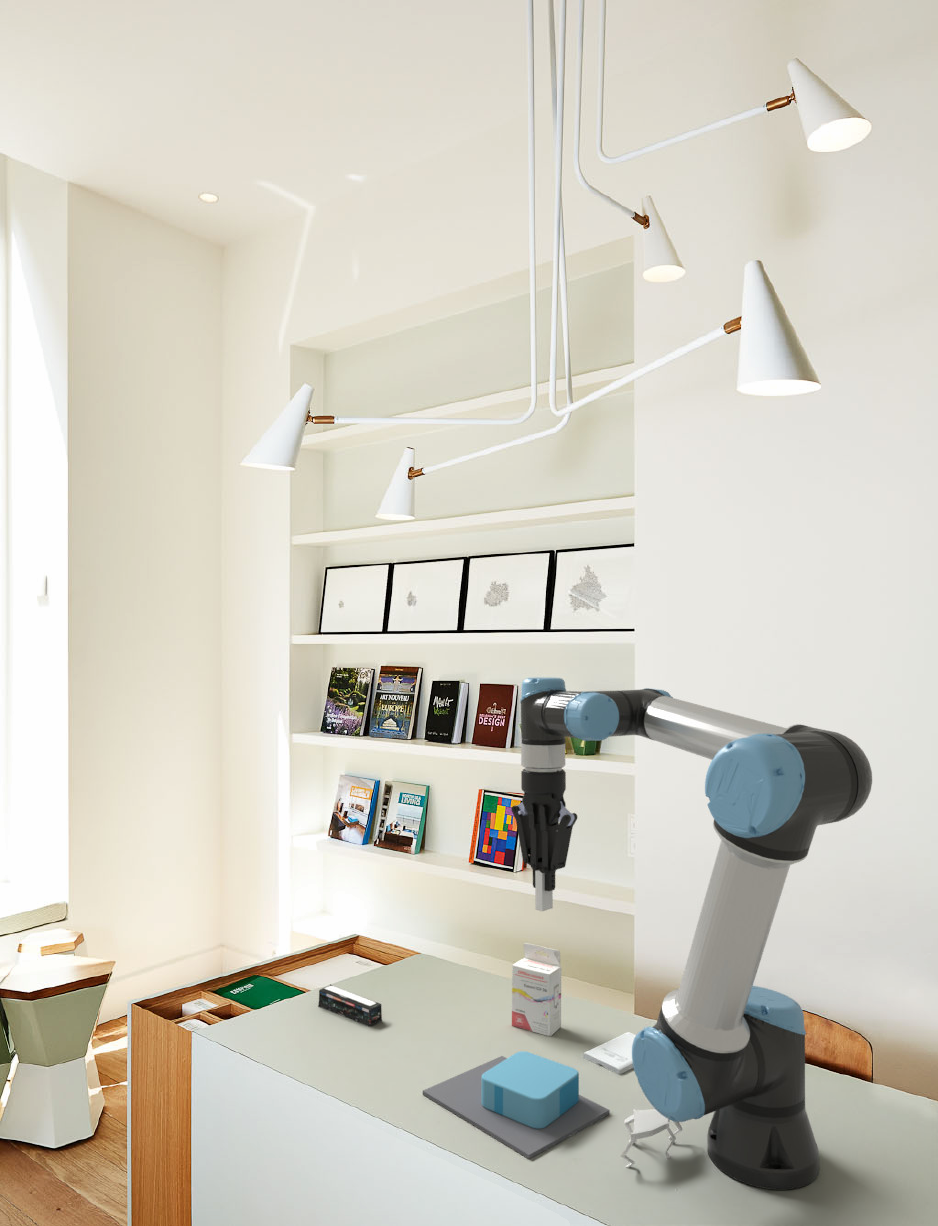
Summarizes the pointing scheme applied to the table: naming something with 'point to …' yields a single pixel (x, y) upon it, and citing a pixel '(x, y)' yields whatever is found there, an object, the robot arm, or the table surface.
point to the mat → (529, 1142)
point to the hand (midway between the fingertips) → (544, 908)
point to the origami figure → (648, 1128)
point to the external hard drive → (613, 1054)
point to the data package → (530, 1089)
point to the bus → (350, 1005)
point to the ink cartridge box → (537, 990)
